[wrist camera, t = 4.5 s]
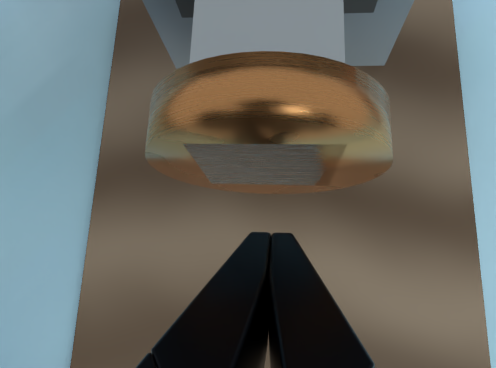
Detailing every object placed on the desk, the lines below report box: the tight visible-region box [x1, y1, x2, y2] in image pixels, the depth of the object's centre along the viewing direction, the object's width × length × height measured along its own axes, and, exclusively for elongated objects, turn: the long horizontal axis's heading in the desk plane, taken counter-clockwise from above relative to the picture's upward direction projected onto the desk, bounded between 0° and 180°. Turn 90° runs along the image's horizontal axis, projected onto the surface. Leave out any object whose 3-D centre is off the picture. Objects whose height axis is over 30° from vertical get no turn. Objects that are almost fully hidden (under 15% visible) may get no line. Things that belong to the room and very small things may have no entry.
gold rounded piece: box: [145, 0, 393, 194], centre depth 10 cm, size 8×5×5 cm, turn 178°
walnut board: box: [70, 0, 491, 368], centre depth 16 cm, size 20×15×1 cm
